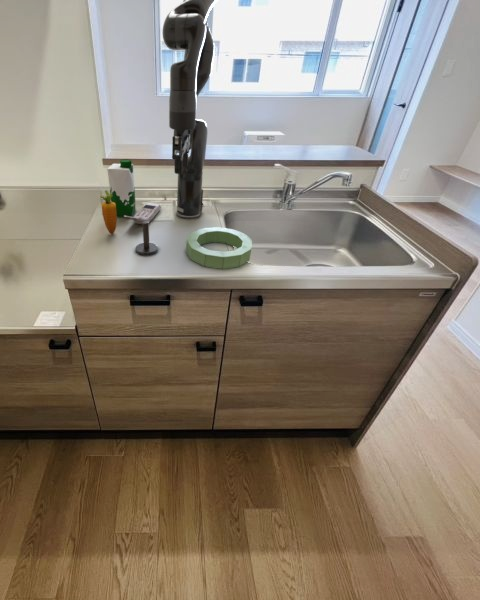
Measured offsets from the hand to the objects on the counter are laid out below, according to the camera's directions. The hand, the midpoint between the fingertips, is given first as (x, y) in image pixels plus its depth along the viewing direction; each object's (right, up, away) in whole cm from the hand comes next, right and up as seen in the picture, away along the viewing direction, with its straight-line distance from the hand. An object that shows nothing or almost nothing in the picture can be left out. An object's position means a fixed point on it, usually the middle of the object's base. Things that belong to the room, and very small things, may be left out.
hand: (181, 169), depth 98 cm
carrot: (-24, -18, +12) cm, 32 cm away
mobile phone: (-14, -10, +23) cm, 28 cm away
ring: (+12, -25, +3) cm, 28 cm away
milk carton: (-22, -6, +27) cm, 36 cm away
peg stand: (-11, -25, +3) cm, 27 cm away
